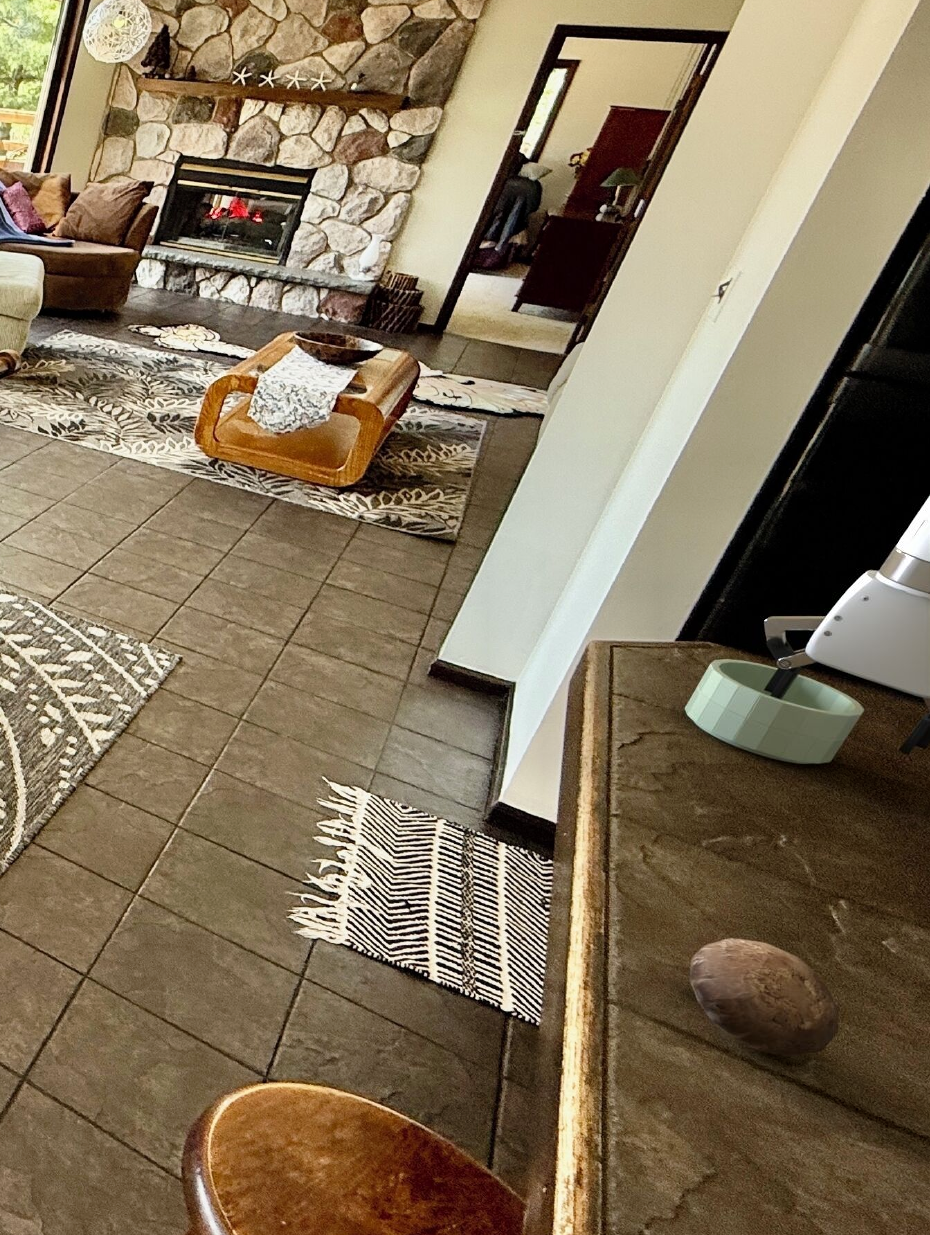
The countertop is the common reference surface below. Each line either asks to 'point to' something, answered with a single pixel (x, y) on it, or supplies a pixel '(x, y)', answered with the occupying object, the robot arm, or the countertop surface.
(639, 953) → the countertop surface
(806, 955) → the countertop surface
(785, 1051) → the mushroom
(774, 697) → the robot arm
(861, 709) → the bowl
